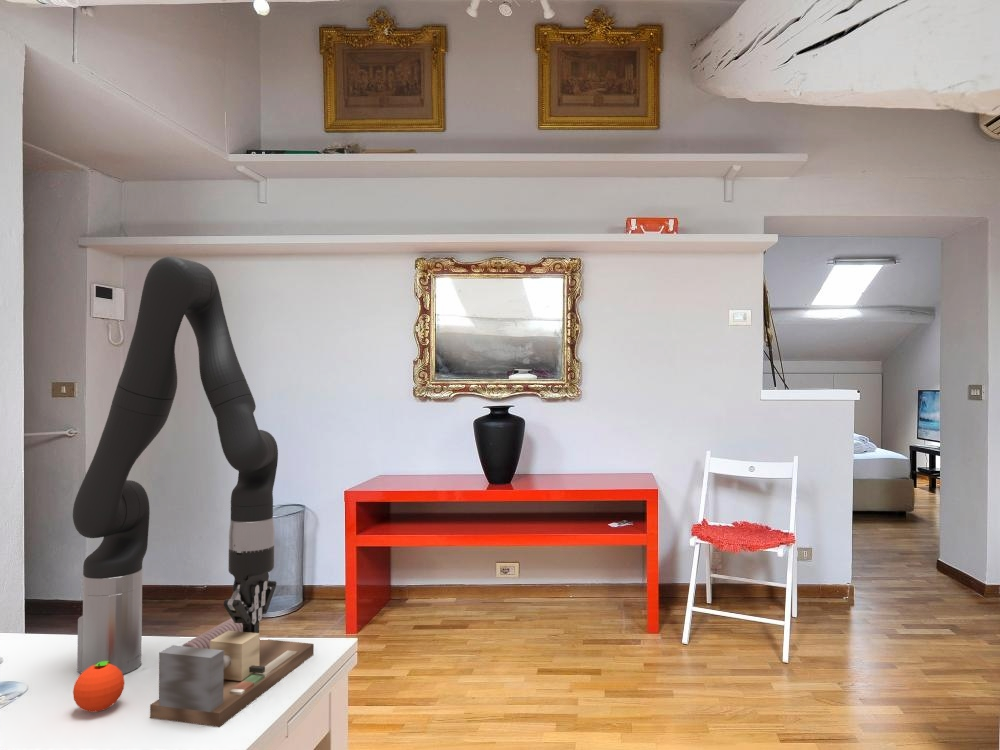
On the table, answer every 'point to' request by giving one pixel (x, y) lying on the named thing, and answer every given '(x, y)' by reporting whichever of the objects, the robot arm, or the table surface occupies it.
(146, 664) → the table surface
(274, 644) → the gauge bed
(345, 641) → the table surface
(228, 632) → the block
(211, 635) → the coil
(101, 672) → the clementine
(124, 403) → the robot arm
